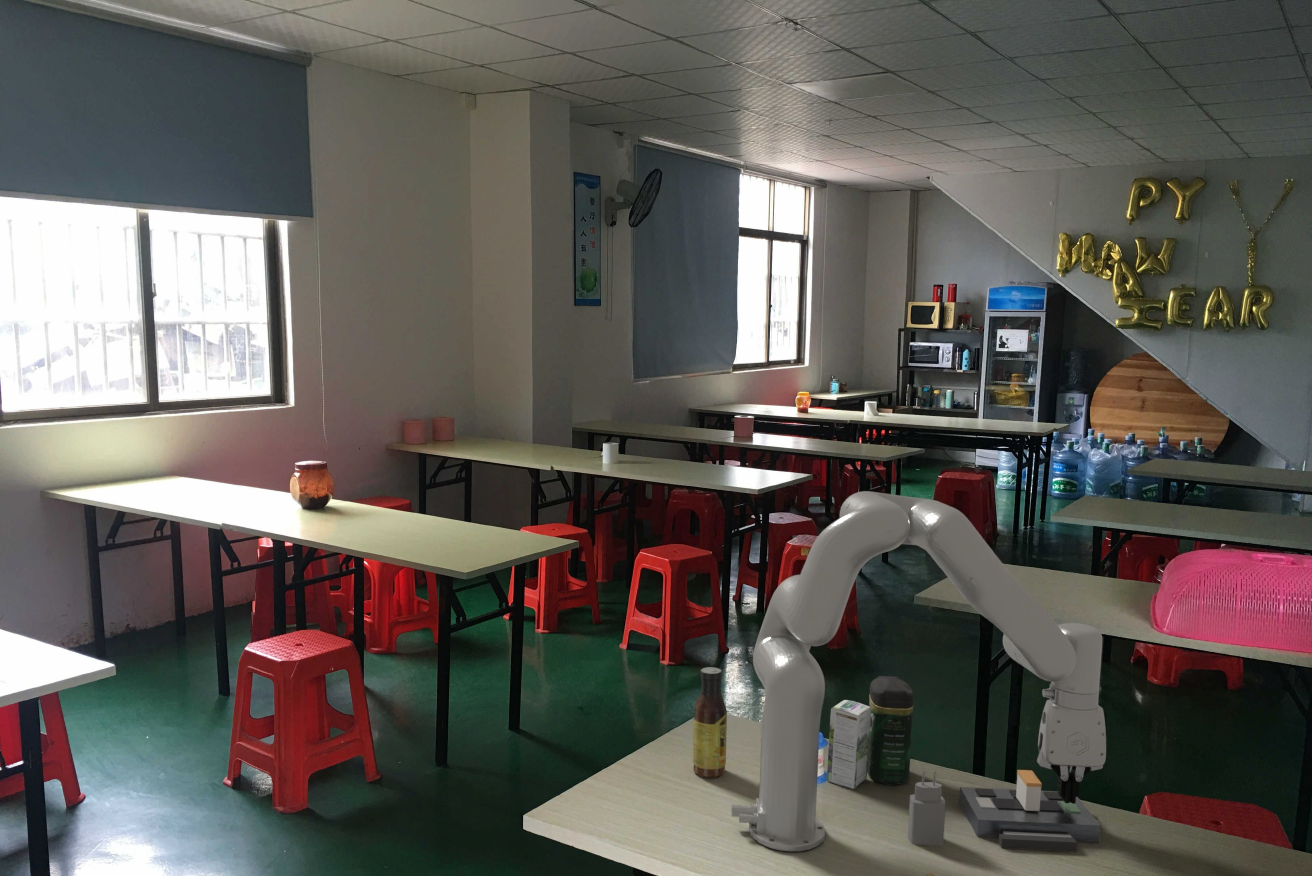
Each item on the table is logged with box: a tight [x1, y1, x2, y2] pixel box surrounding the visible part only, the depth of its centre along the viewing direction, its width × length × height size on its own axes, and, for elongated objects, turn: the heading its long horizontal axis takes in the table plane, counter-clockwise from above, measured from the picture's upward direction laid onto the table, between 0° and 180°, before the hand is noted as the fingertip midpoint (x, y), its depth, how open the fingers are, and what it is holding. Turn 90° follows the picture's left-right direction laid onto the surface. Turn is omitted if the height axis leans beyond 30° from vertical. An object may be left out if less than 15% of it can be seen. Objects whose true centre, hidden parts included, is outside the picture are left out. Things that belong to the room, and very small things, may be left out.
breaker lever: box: [1015, 769, 1043, 811], centre depth 168 cm, size 2×5×5 cm, turn 177°
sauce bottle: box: [692, 666, 728, 779], centre depth 185 cm, size 7×6×20 cm
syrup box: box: [826, 699, 871, 790], centre depth 183 cm, size 6×6×14 cm
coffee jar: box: [867, 675, 914, 786], centre depth 185 cm, size 10×8×19 cm
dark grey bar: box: [998, 831, 1078, 853], centre depth 161 cm, size 12×3×2 cm, turn 87°
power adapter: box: [907, 770, 947, 846], centre depth 162 cm, size 3×5×12 cm, turn 91°
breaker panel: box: [958, 786, 1101, 843], centre depth 169 cm, size 20×12×3 cm, turn 87°
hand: (1067, 799), depth 168 cm, fingers closed
